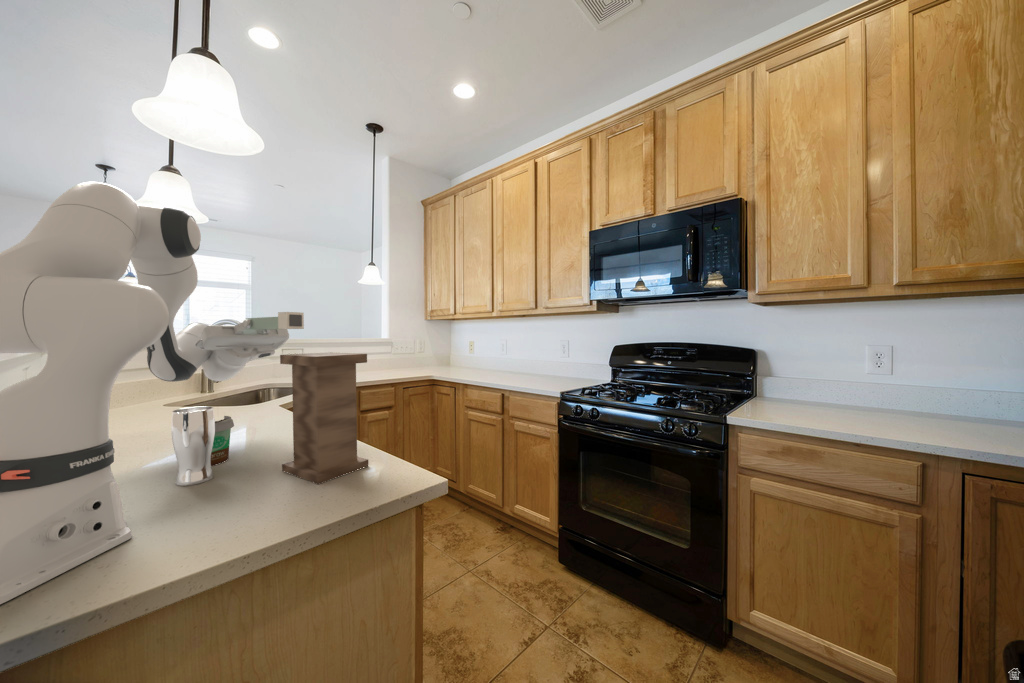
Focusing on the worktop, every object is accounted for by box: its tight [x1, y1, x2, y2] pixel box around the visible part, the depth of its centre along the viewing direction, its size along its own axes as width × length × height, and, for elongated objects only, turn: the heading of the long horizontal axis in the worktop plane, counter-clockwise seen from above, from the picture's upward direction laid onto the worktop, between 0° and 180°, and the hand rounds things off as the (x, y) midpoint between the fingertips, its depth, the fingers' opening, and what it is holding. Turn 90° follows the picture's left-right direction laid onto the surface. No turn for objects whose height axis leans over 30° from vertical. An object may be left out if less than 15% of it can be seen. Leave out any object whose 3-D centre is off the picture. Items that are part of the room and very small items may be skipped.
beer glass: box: [170, 405, 215, 487], centre depth 78 cm, size 7×7×15 cm
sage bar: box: [245, 311, 305, 330], centre depth 96 cm, size 22×4×4 cm, turn 58°
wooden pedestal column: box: [279, 351, 369, 485], centre depth 85 cm, size 14×12×26 cm
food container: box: [211, 415, 235, 467], centre depth 89 cm, size 12×6×10 cm, turn 168°
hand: (258, 322), depth 100 cm, fingers closed on sage bar, 3 cm apart
